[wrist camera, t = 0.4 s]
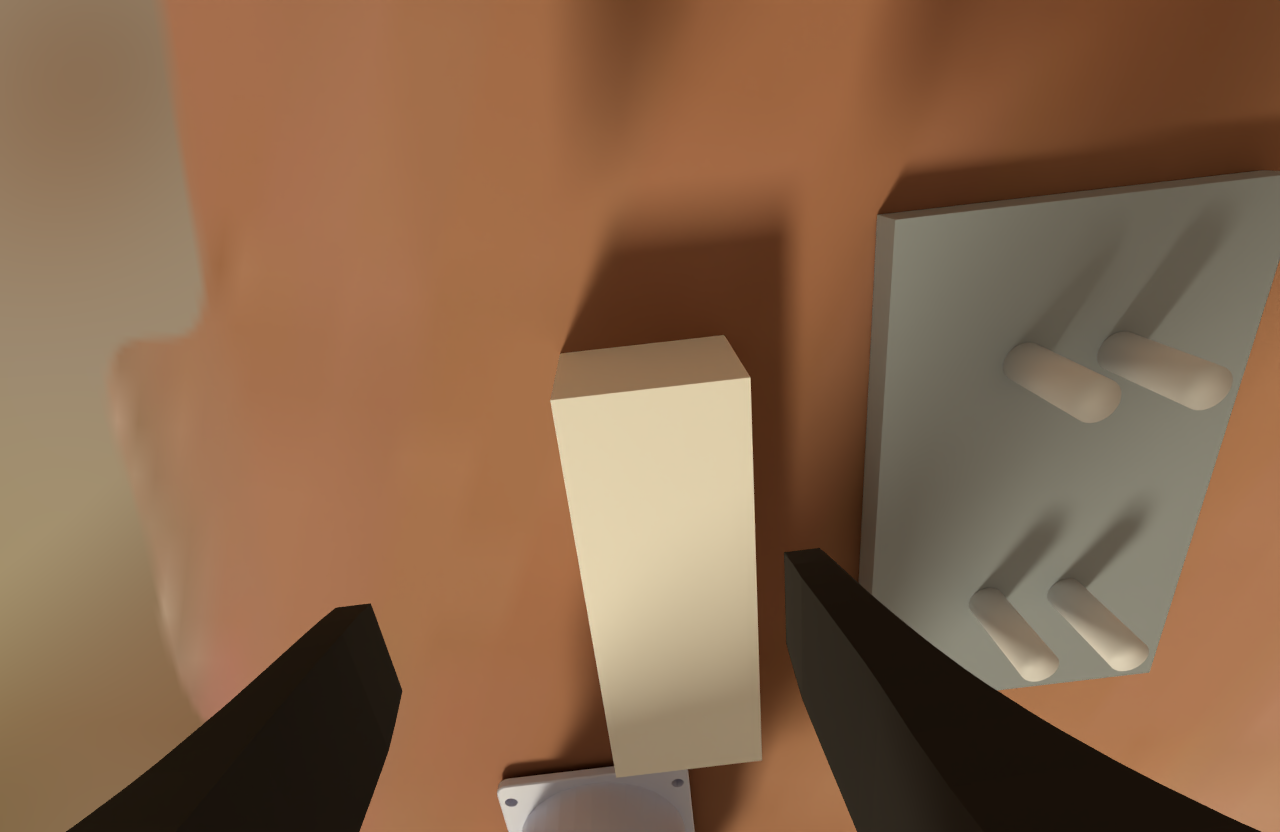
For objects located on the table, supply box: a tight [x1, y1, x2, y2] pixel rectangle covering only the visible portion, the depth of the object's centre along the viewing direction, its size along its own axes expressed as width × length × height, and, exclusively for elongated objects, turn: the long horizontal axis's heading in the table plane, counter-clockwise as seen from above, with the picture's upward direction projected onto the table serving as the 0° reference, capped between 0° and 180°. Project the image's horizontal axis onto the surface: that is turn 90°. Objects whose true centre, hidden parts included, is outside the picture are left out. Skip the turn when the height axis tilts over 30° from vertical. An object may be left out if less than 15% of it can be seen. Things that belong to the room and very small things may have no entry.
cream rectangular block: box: [550, 335, 762, 778], centre depth 20 cm, size 14×5×4 cm, turn 6°
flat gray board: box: [859, 170, 1280, 690], centre depth 19 cm, size 18×11×4 cm, turn 6°
